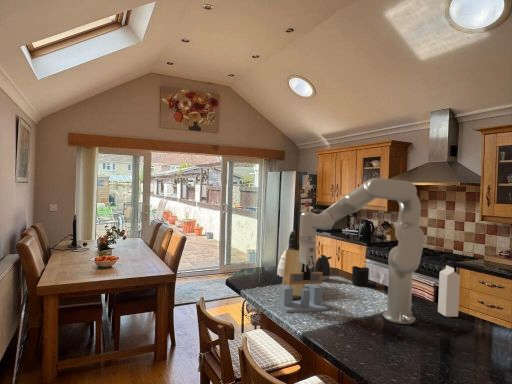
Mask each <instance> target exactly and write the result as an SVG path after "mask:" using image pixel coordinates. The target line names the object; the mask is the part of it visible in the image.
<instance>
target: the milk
mask: <svg viewBox="0 0 512 384" xmlns="http://www.w3.org/2000/svg"><path fill="white" fill-rule="evenodd" d="M438 277H439V279H438V302H437V303H438V304H437V313H439V314H441V315H443V316H444V317H451V318H452V317H454V318H456V317H457V318H458V317H459V305H460V288H461V287H460V286H461V285H460V284H461V282H460V281H461V275H460V274H458V273H457V272H456V271H455V267H452V266H450V265H445V268H443V269H441V271H439V276H438Z"/></svg>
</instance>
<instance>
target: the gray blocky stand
mask: <svg viewBox="0 0 512 384" xmlns="http://www.w3.org/2000/svg"><path fill="white" fill-rule="evenodd" d="M279 294H280V295H279V301H278V305H279V306H280V307H281V309H282V310H284V311H285V313H286V314H287V313H288V314H289V313H301V312H302V313H304V312H321V311H328V309H329V307H328V306H326V305H325V304H324V303H323V286H321V284H308V288H304V289H301V300H298V299H297V300H294V299H293V288H292V287H290V286H289V285H282V284H281V285H280V292H279Z"/></svg>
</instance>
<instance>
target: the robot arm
mask: <svg viewBox="0 0 512 384" xmlns="http://www.w3.org/2000/svg"><path fill="white" fill-rule="evenodd" d="M417 193H418V192H417V187H416V185H415V184H414V183H413V182H411V181H409V180H401V179H400V180H399V179H398V180H397V179H389V178H381V177H373V178H369V179H368V180H366V181H365V182H364V183H362V184H360V185H359V186H358V187H356V188H354V189H353V190H352V191H350V192H349V193H347V194H345V196H343V197H342V198H341V199H339V200H338V201H337V202H335V203H333V204H331V206H329V207H328V208H326V209H325V210H323V211H322V212H320V213H315V212H311V211H310V212H309V211H304V212H301V213H300V217H299V218H300V220H299V235H298V236H299V239H298V241H299V245H300V247H299V261H300V263H301V269H302V270H301V272H304V274H303V280H310V274H311V272H312V269H314V266H315V265H316V261H317V246H316V243H317V241H316V239H317V229H318V230H322V231H328V230H331V229H332V228H333V227H334V225H335V223H337V222H338V221H339V220H341V219H343V218H344V217H346V216H348V215H351V214H354V213H356V212H358V211H360V210H361V209H362V208H364V207H366V206H367V205H368V204H370V203H372V202H373V201H375V200H376V199H382V200H383V199H384V200H390V201H396V202H397V203H398V206H399V212H398V219H397V222H396V227H395V230H394V231H395V233H394V235H395V238H396V240H397V241H398V242H397V245H396V246H394V247H392V248H391V249H390V251H389V253H388V261H387V263H388V280H387V281H388V282H387V283H388V285H387V286H388V287H387V305H386V306H387V307H386V310H387V311H384V312H383V313H382V316H383V317H384V319H385V320H387V321H390V322H392V323H396V324H400V325H401V324H402V325H411V324H414V322H415V321H416V317H414V316H413V311H412V293H413V292H412V291H413V273H414V272H416V271H417V269H418V268H419V267H420V266H419V265H420V264H421V259H422V254H423V249H424V246H425V245H424V244H425V233H424V231H423V230H422V228H421V227H420V220H421V214H422V213H421V212H422V203H421V200H420V198H419V197H418V195H417Z"/></svg>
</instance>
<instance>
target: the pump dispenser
mask: <svg viewBox="0 0 512 384" xmlns="http://www.w3.org/2000/svg"><path fill="white" fill-rule="evenodd" d="M332 257H333V256H328V257H327V255H325V254H321V255H319V256H318V258H316V265H314V267H313V269H314V270H313V272H322V273H323V275H322V282H325V281H328V280H329V279H330V276H331V275H332V270H331V264H330V261H329V260H331V259H332Z"/></svg>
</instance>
